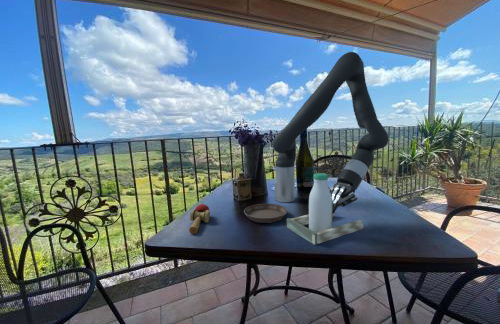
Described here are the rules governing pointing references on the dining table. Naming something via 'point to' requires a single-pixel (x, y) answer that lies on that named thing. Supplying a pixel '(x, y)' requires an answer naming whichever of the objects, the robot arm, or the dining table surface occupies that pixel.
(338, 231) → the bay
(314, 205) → the milk bottle
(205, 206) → the kendama
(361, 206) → the dining table surface
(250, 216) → the plant saucer
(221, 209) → the dining table surface
